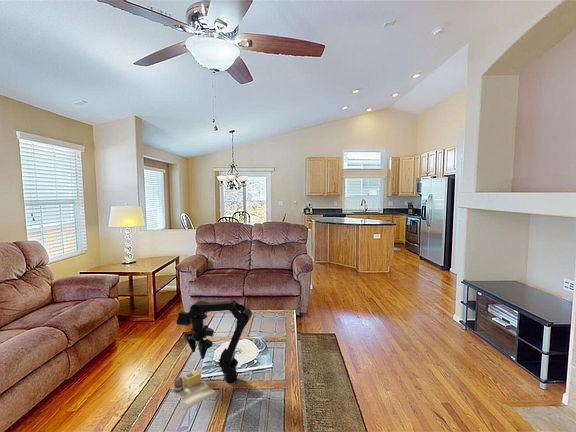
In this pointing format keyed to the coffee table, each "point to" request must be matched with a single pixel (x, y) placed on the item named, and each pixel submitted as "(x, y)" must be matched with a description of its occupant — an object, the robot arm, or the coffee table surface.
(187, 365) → the coffee table surface
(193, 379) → the block
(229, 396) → the coffee table surface
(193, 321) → the robot arm
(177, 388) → the peg
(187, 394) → the plywood panel
